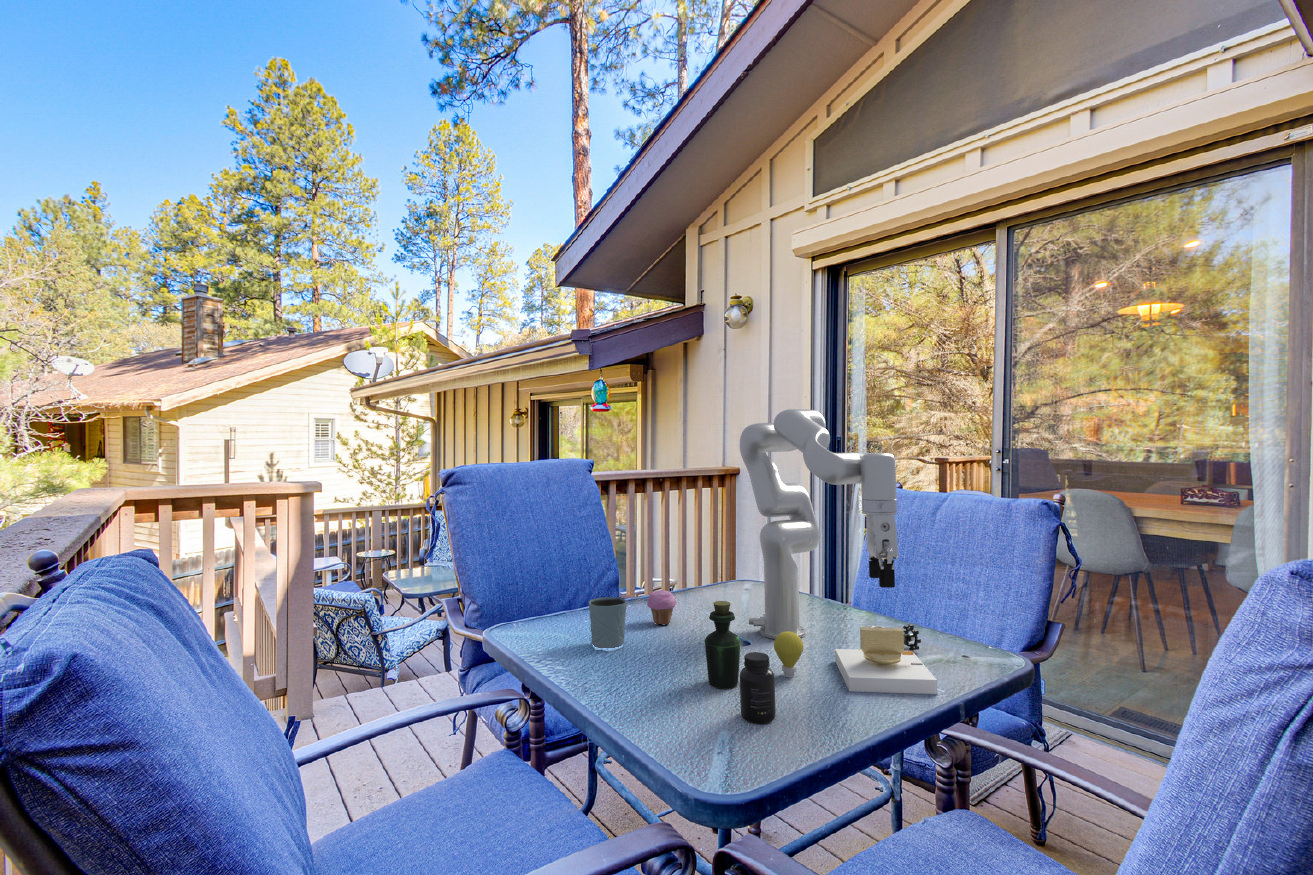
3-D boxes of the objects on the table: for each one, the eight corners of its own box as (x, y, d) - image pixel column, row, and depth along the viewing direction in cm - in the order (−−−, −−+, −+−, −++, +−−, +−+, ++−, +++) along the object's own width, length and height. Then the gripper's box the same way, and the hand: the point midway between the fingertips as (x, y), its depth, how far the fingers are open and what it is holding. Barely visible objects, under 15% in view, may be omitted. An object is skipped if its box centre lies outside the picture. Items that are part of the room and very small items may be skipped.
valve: (879, 659, 149) (921, 654, 151) (878, 632, 149) (921, 628, 151) (864, 650, 155) (905, 646, 158) (863, 624, 155) (904, 620, 158)
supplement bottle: (737, 710, 121) (735, 650, 121) (770, 708, 122) (769, 648, 122) (744, 726, 114) (743, 662, 114) (780, 724, 115) (778, 661, 115)
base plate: (849, 691, 129) (849, 676, 129) (835, 661, 147) (835, 648, 147) (937, 694, 127) (937, 678, 127) (912, 663, 145) (911, 649, 145)
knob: (865, 667, 134) (865, 633, 134) (858, 655, 142) (857, 623, 142) (918, 669, 132) (917, 635, 133) (907, 656, 140) (907, 624, 140)
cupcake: (676, 627, 176) (676, 593, 176) (647, 628, 176) (646, 594, 177) (676, 619, 185) (675, 586, 185) (647, 619, 185) (647, 586, 185)
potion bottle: (697, 682, 136) (696, 602, 136) (723, 673, 140) (722, 596, 141) (722, 694, 129) (721, 610, 129) (749, 684, 134) (747, 603, 134)
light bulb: (787, 683, 134) (786, 638, 134) (768, 673, 140) (767, 630, 140) (810, 677, 137) (809, 633, 138) (790, 667, 143) (790, 625, 143)
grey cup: (582, 649, 159) (581, 604, 159) (600, 638, 168) (599, 595, 168) (617, 654, 155) (616, 607, 155) (633, 642, 164) (632, 598, 164)
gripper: (907, 510, 129) (910, 591, 128) (886, 503, 146) (889, 574, 145) (870, 511, 129) (873, 591, 129) (854, 504, 147) (856, 574, 146)
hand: (881, 582), depth 137 cm, fingers open, 9 cm apart
